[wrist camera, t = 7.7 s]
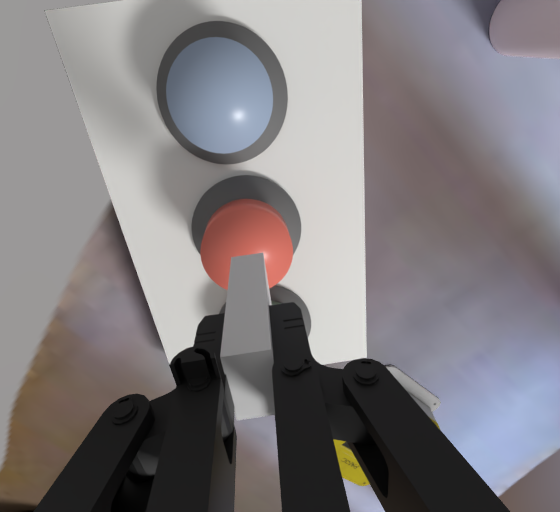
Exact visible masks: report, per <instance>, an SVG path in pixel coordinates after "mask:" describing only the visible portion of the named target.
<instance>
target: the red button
mask: <svg viewBox="0 0 560 512" xmlns="http://www.w3.org/2000/svg"><path fill="white" fill-rule="evenodd" d="M257 253H263V254H264V260H265V266H266V272H267V279H268V285H269V289H270V288H271V287H273V286H275V285H276V284H277V283H279V282H280V281H281V280H282V279H283V278H284V276H285V275H286V274H287V272H288V270H289V268H290V266H291V263H292V259H293V246H292V241H291V238H290V235H289V231H288V228H287V225H286V223H285V221H284V219H283V217H282V216H281V215H280V213H279V212H278V211H277V210H276V209H274V208H273V207H272V206H270V205H269V204H267V203H264V202H262V201H259V200H254V199H239V200H234V201H231V202H229V203H227V204H225V205H223V206H222V207H220V208H219V209H218V210H217V211H215V213H214V214H213V215H212V216H211V218H210V220H209V221H208V224H207V226H206V230H205V233H204V236H203V239H202V243H201V249H200V255H201V261H202V264H203V267H204V269H205V271H206V273H207V274H208V276H209V277H210V278H211V279H212V280H213V281H214V282H215V283H216V284H217V285H219V286H220V287H222V288H224V289H226V290H228V282H229V273H230V264H231V257H236V256H243V255H250V254H257Z"/></svg>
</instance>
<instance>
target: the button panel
mask: <svg viewBox="0 0 560 512" xmlns="http://www.w3.org/2000/svg"><path fill="white" fill-rule="evenodd" d="M45 14H46V17H47V20H48V22H49V25H50V28H51V31H52V34H53V36H54V39H55V42H56V45H57V48H58V51H59V54H60V56H61V59H62V62H63V65H64V68H65V71H66V73H67V76H68V79H69V82H70V85H71V87H72V90H73V93H74V96H75V99H76V102H77V104H78V107H79V110H80V113H81V115H82V119H83V121H84V124H85V127H86V130H87V133H88V135H89V138H90V141H91V144H92V147H93V150H94V152H95V155H96V158H97V161H98V164H99V167H100V169H101V172H102V175H103V178H104V181H105V184H106V186H107V189H108V192H109V194H110V198H111V200H112V203H113V206H114V209H115V212H116V215H117V217H118V220H119V223H120V226H121V229H122V232H123V234H124V237H125V240H126V243H127V246H128V248H129V251H130V254H131V257H132V260H133V263H134V265H135V268H136V271H137V274H138V277H139V280H140V282H141V285H142V288H143V291H144V294H145V296H146V299H147V302H148V305H149V308H150V311H151V313H152V316H153V319H154V322H155V325H156V328H157V330H158V333H159V336H160V339H161V342H162V345H163V347H164V350H165V353H166V356H167V359H168V361H169V364H170V363H171V361H172V359H173V358H174V357H175V356H176V355H177V354H178V353H179V352H181V351H183V350H184V349H186V348H189V347H193V345H194V340H195V336H196V331H197V327H198V324H199V323H200V322H201V320H202V319H203V318H204V317H205V316H208V315H215V314H222V313H225V309H226V300H227V291H228V290H226V289H224V288H222V287H220V286H219V285H217V284H216V283H215V282H214V281H213V280H212V279H211V278H210V277H209V276H208V274H207V273H206V271H205V269H204V267H203V264H202V261H201V255H200V249H201V243H202V239H203V236H204V233H205V230H206V226H207V224H208V221H209V220H210V218H211V216H212V215H213V214H214V213H215V211H217V210H218V209H219V208H220V207H222V206H223V205H225V204H227V203H229V202H231V201H234V200H239V199H254V200H259V201H262V202H264V203H267V204H269V205H270V206H272V207H273V208H274V209H276V210H277V211H278V212H279V213H280V215H281V216H282V217H283V219H284V221H285V223H286V225H287V228H288V231H289V235H290V238H291V241H292V246H293V259H292V263H291V266H290V268H289V270H288V272H287V274H286V275H285V276H284V278H283V279H282V280H281V281H280V282H279V283H277V284H276V285H275V286H273V287H271V288H270V289H269V291H270V297H271V301H276V302H279V303H282V304H283V303H290V302H294V303H295V304H297V305H298V306H299V307H300V308H301V311H302V316H303V320H304V324H305V329H306V333H307V337H308V341H309V346H310V350H311V354H312V356H313V358H314V359H315V360H316V361H317V362H318V363H320V364H321V365H324V364H330V363H336V362H343V361H349V360H355V359H361V358H367V350H366V280H365V211H364V142H363V72H362V3H361V0H120V1H113V2H105V3H97V4H91V5H82V6H74V7H67V8H59V9H51V10H45ZM209 37H222V38H227V39H231V40H234V41H236V42H239V43H240V44H242V45H244V46H245V47H247V48H248V49H249V50H251V51H252V52H253V53H254V54H255V55H256V56H257V57H258V59H259V60H260V61H261V63H262V64H263V66H264V68H265V69H266V71H267V74H268V76H269V79H270V82H271V86H272V91H273V108H272V113H271V117H270V120H269V123H268V125H267V127H266V129H265V130H264V132H263V133H262V135H261V136H260V137H259V138H258V139H257V140H256V141H255V142H254V143H253V144H251V145H250V146H249V147H247V148H245V149H243V150H240V151H237V152H233V153H225V154H222V153H214V152H209V151H206V150H204V149H202V148H200V147H198V146H196V145H195V144H193V143H192V142H190V141H189V140H188V139H187V138H186V137H185V136H184V135H183V134H182V133H181V132H180V130H179V129H178V128H177V126H176V124H175V123H174V121H173V119H172V117H171V114H170V111H169V108H168V104H167V98H166V84H167V78H168V74H169V71H170V68H171V66H172V64H173V62H174V60H175V59H176V58H177V56H178V55H179V54H180V53H181V52H182V50H183V49H185V48H186V47H187V46H188V45H190V44H192V43H194V42H195V41H198V40H200V39H204V38H209Z"/></svg>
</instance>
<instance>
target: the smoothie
mask: <svg viewBox="0 0 560 512" xmlns="http://www.w3.org/2000/svg"><path fill="white" fill-rule="evenodd" d="M489 36H490V41H491V44H492V46H493V47H494V49H495V50H496V51H497V52H498V53H500V54H502V55H504V56H516V57H533V58H550V59H560V0H501V1H500V2H499V4H498V5H497V7H496V9H495V10H494V13H493V15H492V18H491V21H490V27H489Z"/></svg>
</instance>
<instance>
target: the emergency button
mask: <svg viewBox="0 0 560 512" xmlns="http://www.w3.org/2000/svg"><path fill="white" fill-rule="evenodd" d="M385 367H386V368H387V369H388V370H389V371H390V372H391V374H392V375H393V376H394V377H395V378H396V379H397V380H398V382H399V383H400V384H401V385H402V386H403V387H404V389H405V390H406V391H407V392H408V393H409V394H410V396H411V397H412V398H413V399H414V400H415V401H416V403H417V404H418V405H419V406H420V407H421V408H422V410H423V411H424V412H425V413H426V414H427V415H428V417H429V418H430V419H431V420H432V421H433V422H434V423H435V425H436V426H437V427H438V428H439V426H438V424H437V422H436V420H435V418H434V415H433V413H432V412H433V411H434V410H436V409H437V408H438V407H439V406H440V403H441V402H440V400H439V398H438V397H436V396H435V395H433V394H432V393H431V392H429V391H428V390H427V389H425V388H424V387H423V386H421V385H420V384H418V383H417V382H416V381H414V380H413V379H412V378H410V377H409V376H408V375H406V374H405V373H404V372H402V371H401V370H399V369H398V368H397V367H395V366H392V365H389V366H385ZM439 429H440V428H439ZM333 441H334V445H335V449H336V453H337V457H338V462H339V466H340V470H341V474H342V477H343V478H345V479H347V480H349V481H351V482H353V483H354V484H356V485H359V486H366V485H369V484H370V483H369V481H368V479H367V478H366V476H365V474H364V472H363V470H362V469H361V467H360V465H359V463H358V461H357V460H356V458H355V456H354V454H353V452H352V451H351V449H350V447H349V445H348V443H347V442H346V441H340V440H334V439H333Z"/></svg>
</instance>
